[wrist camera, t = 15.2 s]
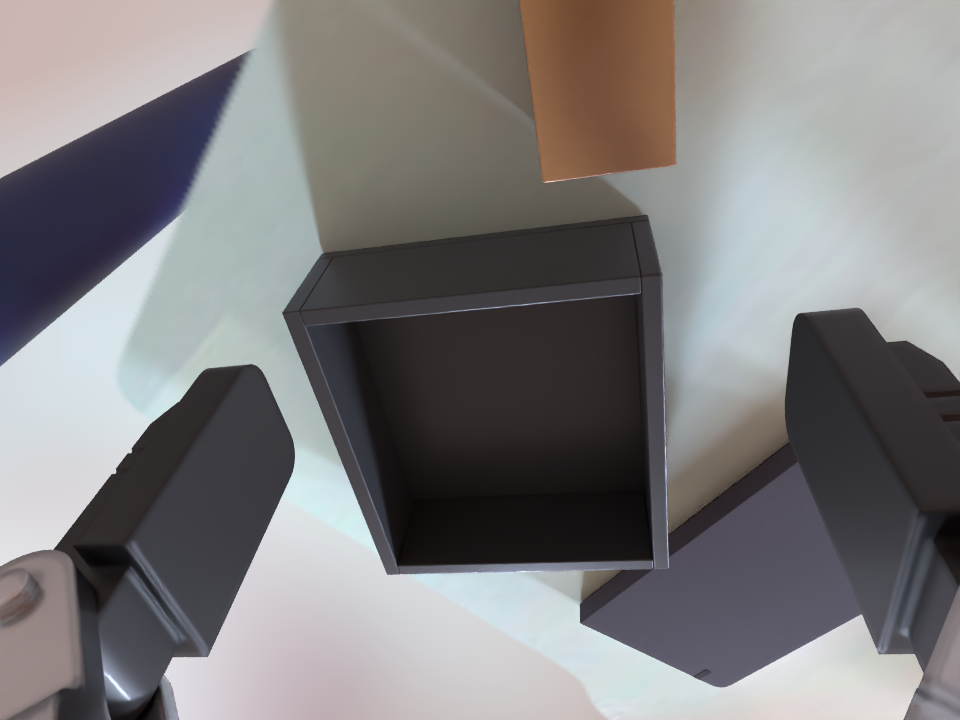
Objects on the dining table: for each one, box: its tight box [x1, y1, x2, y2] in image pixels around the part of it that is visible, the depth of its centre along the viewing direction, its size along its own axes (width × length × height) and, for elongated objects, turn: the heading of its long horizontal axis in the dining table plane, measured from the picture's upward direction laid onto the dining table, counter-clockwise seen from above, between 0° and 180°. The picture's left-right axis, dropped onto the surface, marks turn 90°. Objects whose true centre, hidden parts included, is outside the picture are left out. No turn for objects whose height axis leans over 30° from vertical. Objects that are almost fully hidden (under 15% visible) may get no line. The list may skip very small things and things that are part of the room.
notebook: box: [580, 443, 862, 687], centre depth 41 cm, size 13×2×21 cm
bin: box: [282, 215, 669, 575], centre depth 34 cm, size 16×18×6 cm
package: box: [519, 0, 676, 183], centre depth 23 cm, size 4×8×6 cm, turn 11°
